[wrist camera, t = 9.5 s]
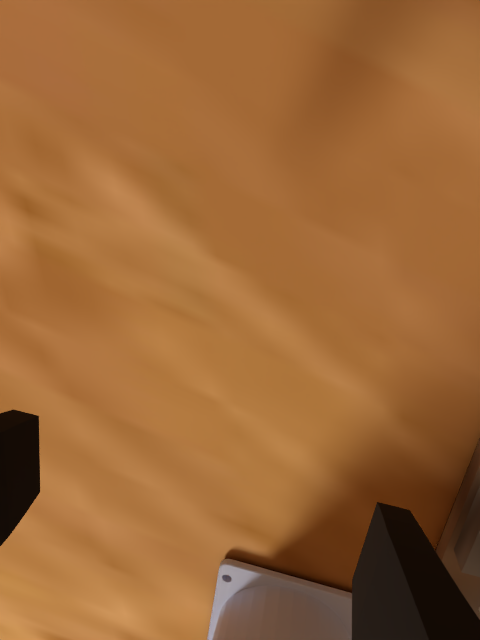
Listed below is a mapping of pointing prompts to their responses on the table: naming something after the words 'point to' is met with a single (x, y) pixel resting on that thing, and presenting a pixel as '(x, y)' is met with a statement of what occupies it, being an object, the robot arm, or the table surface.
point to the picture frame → (465, 536)
